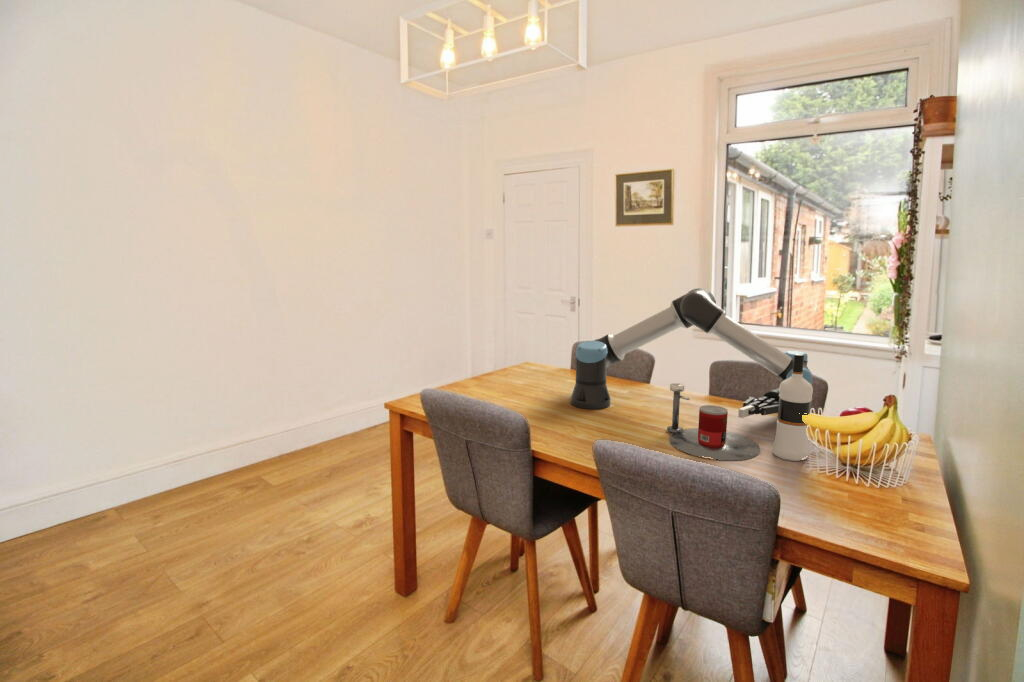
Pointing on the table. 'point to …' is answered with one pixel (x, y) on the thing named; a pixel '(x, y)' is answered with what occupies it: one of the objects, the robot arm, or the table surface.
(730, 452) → the turntable
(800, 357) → the vodka
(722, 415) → the canned food
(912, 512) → the table surface
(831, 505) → the table surface
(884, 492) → the table surface
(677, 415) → the faucet
